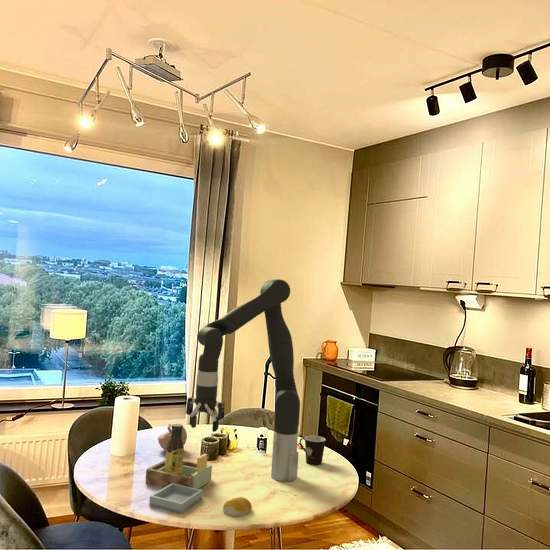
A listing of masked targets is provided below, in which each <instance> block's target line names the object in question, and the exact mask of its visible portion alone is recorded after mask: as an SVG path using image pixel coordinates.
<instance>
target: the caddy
mask: <svg viewBox="0 0 550 550" xmlns="http://www.w3.org/2000/svg"><path fill="white" fill-rule="evenodd" d="M196 459H197V461H196V463H197V468H195V467H191V466H186V465H183V466H182V476H186V477H190V478H192V487H191V488H196V489H201V487H203V486H205V485H206V484H208V483H209V482H211V480H212V472H211V466H212V465H211V464H208V453H203V454H200V455H199V456H197V457H196ZM157 470H159V471H163V472H165V466H163V467H161V468H159V469H157Z"/></svg>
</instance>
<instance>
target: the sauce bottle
mask: <svg viewBox="0 0 550 550" xmlns="http://www.w3.org/2000/svg"><path fill="white" fill-rule="evenodd" d="M183 427H184V425H183V424H181V423H173V424H171V427H170V428H171V430H172V434H171V438H170V440H169V442H168V444H167V450H166V451H165V453H166V454H165V460H166V461H165V472H168V473H172V474H177V475H181V476H183V475H182V466H183V460H184V454H185V453H184V452H185V445H184V446H183V442H182V429H183Z"/></svg>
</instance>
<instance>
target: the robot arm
mask: <svg viewBox="0 0 550 550" xmlns="http://www.w3.org/2000/svg"><path fill="white" fill-rule="evenodd" d="M290 295H291V288H290V285H289V283H288V282H287V281H285V280H284V279H280V278H279V279H270V280H267V281H264V282H263V283H262V285H261V287H260V294H259V295H258V296H256V297H254V298H253V299H250V300H249V301H246V302H245V303H243V304H241V305H238V306H237V307H235V308H234V309H231V311H228V313H225V314H224V315H223V316H222V317H220V318H219V319H216V320H214V321H211V322H209V323H208V324H206V325H204V326H203V327H202V328H201V329H199V331H198V332H197V342H198V343H199V344H200V345H202V346H203V351H202V354H200V355H199V357H198V365H197V375H196V383H195V385H196V386H195V397H194V396H191V397H190V396H189V397H188V398H187V401H186V402H187V403H186V409H185V410H186V411H185V414H186V415H189V416H190V427H191V428H193V429H195V428H196V427H197V421H198V420H197V418H198V417H197V415H198V413H205V414H208V415H209V416H210V417H211V418H212V420H213V421H212V428H211V429H212V430H211V431H212V432H213V433H214V432H217V431H218V430H219V427H220V426H219V424H220V421H222V420H224V419H225V402H224V401H220V402H219V401H217V397H218V384H219V372H218V370H219V359H220V356H221V351H222V348H223V345H224V336H226V335H231V334H233V333H235V332H236V331H238V330H239V329H241V328H242V327H244V326H245V325H247V324H248V323H249V322H251V321H252V320H254V319H255V318H256V317H258V316H259V315H261V314H263V313H264V318H265V326H266V332H267V344H268V352H269V357H270V362H271V367H272V370H273V373H274V380H275V381H274V382H275V409H274V424H273V439H272V453H271V455H272V456H271V470H270V471H271V472H270V473H271V474H270V477H271V478H272V480H273V479H274V480H276V481H278V482H293V481H294V480H295V479H296V478H297V477H298V468H299V451H298V439H299V438H298V437H299V426H300V416H301V415H300V413H301V400H300V399H301V398H300V396H299V394H298V391H297V386H296V381H295V380H296V379H295V376H294V368H295V367H294V362H295V361H294V360H295V359H294V358H295V357H294V356H295V355H294V345H293V337H292V333H291V331H290V330H289V327H288V325H287V323H286V321H285V319H284V317H283V311H282V303H285V302H286V301H287V300H288V299H289V297H290ZM194 404H195V407H194ZM216 407H217V408H216Z"/></svg>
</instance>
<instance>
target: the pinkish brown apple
mask: <svg viewBox="0 0 550 550" xmlns="http://www.w3.org/2000/svg"><path fill="white" fill-rule="evenodd" d="M171 427H172V424H171V423H168V425H167V428H166V429H167V431H166V432H164V433H163V434H160V435H158V436H157V442H158V445H159V446H160V448H161V449H162V450H164V451H165V452H166V450H167V444H168V442H169V440H170V438H171V434H172V428H171ZM187 439H188V435H187V430H186V428H185V427H184V426H183V429H182V442H183V446H184V447H185V444H186V442H187Z"/></svg>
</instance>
